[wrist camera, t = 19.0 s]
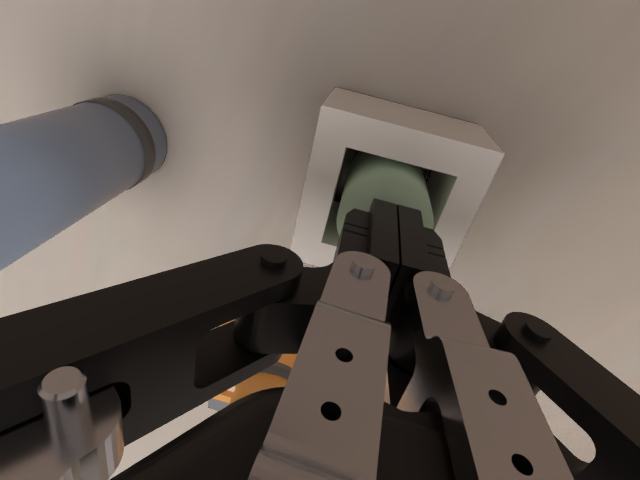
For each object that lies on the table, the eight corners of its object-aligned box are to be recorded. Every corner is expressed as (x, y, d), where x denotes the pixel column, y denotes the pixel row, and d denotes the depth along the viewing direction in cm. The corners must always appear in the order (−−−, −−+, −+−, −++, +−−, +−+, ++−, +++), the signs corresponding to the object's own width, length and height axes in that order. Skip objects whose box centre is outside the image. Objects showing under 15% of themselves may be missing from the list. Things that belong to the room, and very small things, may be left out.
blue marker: (85, 83, 17) (-468, 196, 6) (168, 106, 17) (-237, 261, 6) (91, 165, 19) (-318, 363, 8) (167, 185, 19) (-142, 414, 8)
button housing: (335, 87, 16) (321, 104, 12) (479, 124, 16) (505, 153, 12) (306, 215, 19) (288, 258, 15) (426, 247, 19) (435, 298, 15)
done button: (358, 132, 16) (349, 167, 12) (434, 153, 16) (449, 193, 12) (340, 201, 18) (327, 250, 14) (408, 220, 18) (414, 274, 14)
